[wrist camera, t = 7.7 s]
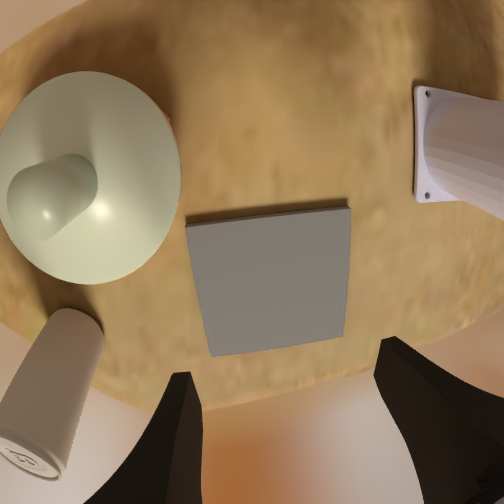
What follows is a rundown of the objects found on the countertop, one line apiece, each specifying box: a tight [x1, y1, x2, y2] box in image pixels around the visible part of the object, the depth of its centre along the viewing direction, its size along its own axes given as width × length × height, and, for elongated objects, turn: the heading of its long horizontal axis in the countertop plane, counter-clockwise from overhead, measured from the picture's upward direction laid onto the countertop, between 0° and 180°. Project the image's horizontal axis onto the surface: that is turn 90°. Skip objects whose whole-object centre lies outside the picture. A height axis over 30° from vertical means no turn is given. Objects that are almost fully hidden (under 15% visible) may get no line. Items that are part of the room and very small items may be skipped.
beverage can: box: [0, 308, 105, 482], centre depth 15 cm, size 5×5×12 cm
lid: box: [0, 71, 182, 284], centre depth 11 cm, size 10×10×4 cm
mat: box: [185, 206, 351, 357], centre depth 20 cm, size 10×10×1 cm
